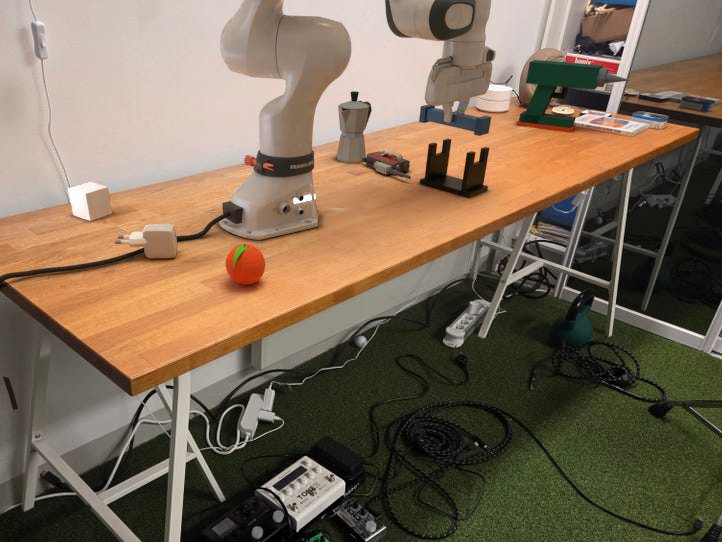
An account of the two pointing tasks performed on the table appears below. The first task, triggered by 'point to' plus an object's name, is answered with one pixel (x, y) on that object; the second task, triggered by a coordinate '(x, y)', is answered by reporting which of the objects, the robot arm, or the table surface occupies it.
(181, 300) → the table surface
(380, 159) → the walkie-talkie
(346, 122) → the coffee maker
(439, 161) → the holder
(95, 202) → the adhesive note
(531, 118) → the power tool
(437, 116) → the handle
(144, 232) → the power adapter
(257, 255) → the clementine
